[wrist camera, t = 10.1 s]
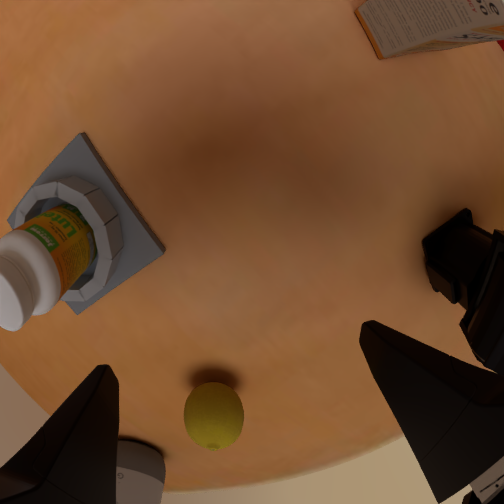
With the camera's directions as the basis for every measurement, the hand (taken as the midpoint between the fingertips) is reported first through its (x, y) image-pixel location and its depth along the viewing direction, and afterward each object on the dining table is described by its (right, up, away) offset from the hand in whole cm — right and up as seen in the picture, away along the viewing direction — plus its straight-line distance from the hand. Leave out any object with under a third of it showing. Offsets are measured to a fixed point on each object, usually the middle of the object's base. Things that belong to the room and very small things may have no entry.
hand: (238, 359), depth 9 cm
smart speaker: (-17, -26, +24) cm, 40 cm away
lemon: (-3, -10, +18) cm, 21 cm away
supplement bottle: (-13, +5, +10) cm, 17 cm away
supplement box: (+13, +21, +6) cm, 25 cm away
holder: (-13, +5, +10) cm, 18 cm away
